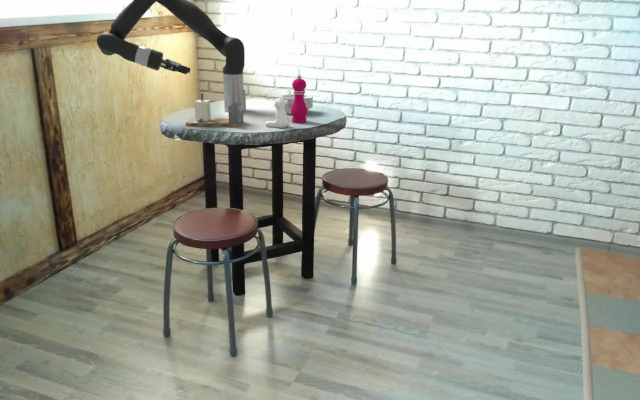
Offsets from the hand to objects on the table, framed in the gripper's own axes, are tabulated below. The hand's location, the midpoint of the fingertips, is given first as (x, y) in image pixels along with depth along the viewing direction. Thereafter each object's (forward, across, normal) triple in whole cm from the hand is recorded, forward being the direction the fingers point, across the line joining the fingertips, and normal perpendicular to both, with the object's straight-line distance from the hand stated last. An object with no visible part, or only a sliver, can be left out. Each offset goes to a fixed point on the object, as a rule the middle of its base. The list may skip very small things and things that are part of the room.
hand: (188, 71), depth 221 cm
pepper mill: (+50, +3, +6) cm, 50 cm away
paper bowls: (+50, +23, +5) cm, 55 cm away
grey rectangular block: (+24, -1, +14) cm, 28 cm away
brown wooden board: (+16, +1, +17) cm, 24 cm away
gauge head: (+11, 0, +18) cm, 21 cm away
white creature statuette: (+42, -6, +9) cm, 43 cm away
